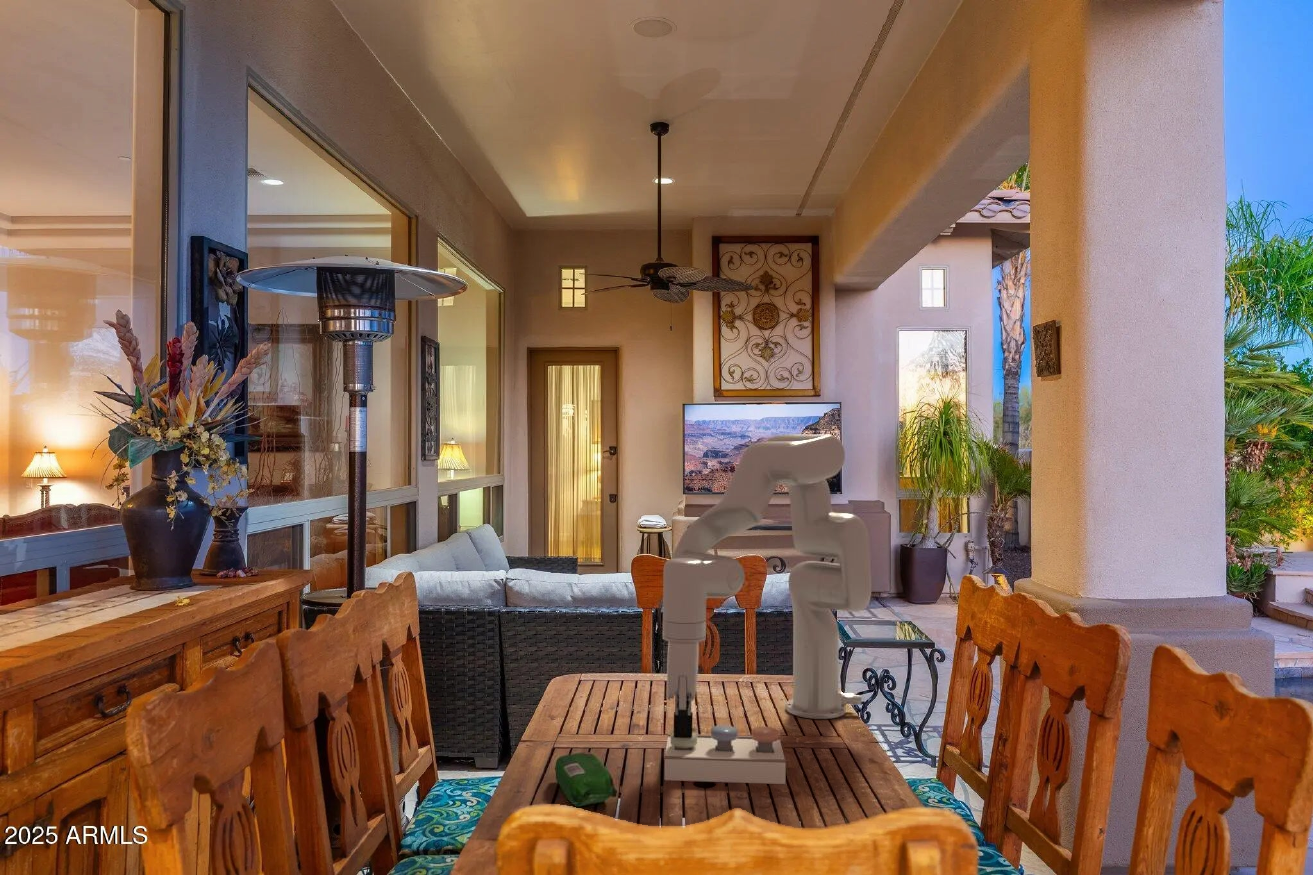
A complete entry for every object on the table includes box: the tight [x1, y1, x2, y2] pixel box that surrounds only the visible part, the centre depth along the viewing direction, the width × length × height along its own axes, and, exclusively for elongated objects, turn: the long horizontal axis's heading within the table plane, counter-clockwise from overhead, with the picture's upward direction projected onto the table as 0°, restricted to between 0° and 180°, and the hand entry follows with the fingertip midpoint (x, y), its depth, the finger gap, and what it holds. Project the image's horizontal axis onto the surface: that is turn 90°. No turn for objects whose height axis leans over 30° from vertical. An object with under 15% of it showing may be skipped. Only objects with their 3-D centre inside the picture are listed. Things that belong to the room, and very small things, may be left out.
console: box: [664, 733, 787, 785], centre depth 146 cm, size 20×12×4 cm, turn 86°
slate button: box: [710, 725, 739, 752], centre depth 146 cm, size 5×5×4 cm
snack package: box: [554, 751, 618, 808], centre depth 135 cm, size 7×16×5 cm, turn 19°
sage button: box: [670, 732, 697, 750], centre depth 147 cm, size 5×5×4 cm
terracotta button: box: [751, 726, 779, 753], centre depth 146 cm, size 5×5×4 cm
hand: (683, 736), depth 147 cm, fingers closed
